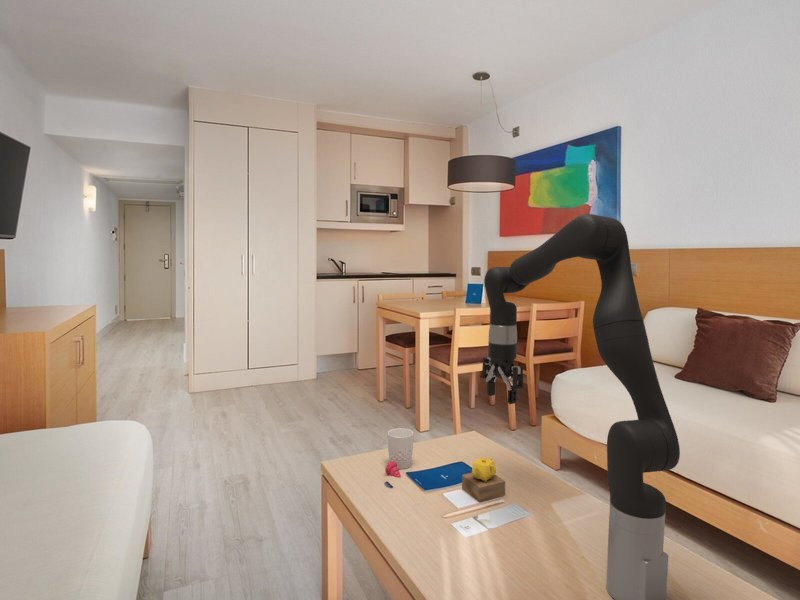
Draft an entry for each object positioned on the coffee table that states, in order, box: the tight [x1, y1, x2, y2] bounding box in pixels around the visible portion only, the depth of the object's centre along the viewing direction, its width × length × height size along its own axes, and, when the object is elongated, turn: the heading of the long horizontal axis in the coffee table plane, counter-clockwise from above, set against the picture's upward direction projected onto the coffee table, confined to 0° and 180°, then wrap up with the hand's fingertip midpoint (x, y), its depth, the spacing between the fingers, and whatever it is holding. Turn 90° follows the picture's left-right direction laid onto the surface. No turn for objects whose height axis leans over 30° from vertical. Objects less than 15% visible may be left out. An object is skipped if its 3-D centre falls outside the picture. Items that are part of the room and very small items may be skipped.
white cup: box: [387, 427, 415, 470], centre depth 147 cm, size 8×8×10 cm
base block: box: [461, 472, 506, 504], centre depth 128 cm, size 8×8×4 cm
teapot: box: [471, 456, 497, 482], centre depth 127 cm, size 8×6×5 cm
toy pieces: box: [384, 461, 402, 489], centre depth 136 cm, size 12×11×4 cm
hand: (501, 399), depth 132 cm, fingers open, 8 cm apart
